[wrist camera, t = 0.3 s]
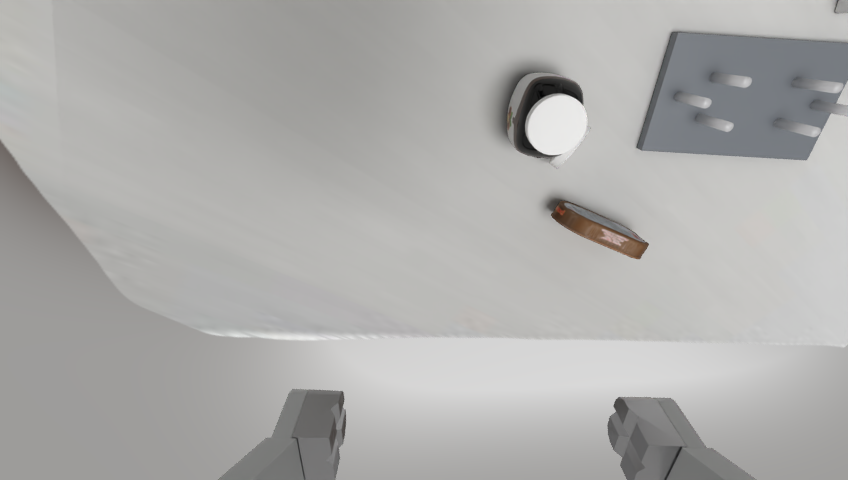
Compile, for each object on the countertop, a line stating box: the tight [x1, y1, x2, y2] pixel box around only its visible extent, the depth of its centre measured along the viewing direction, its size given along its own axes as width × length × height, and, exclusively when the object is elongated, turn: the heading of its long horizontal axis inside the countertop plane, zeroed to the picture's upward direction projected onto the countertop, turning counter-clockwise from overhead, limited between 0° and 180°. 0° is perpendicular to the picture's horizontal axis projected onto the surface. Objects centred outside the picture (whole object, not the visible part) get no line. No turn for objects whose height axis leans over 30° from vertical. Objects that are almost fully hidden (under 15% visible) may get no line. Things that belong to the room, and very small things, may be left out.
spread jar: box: [507, 72, 591, 169], centre depth 51 cm, size 12×11×12 cm
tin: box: [551, 201, 649, 259], centre depth 60 cm, size 15×3×8 cm, turn 67°
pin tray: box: [637, 32, 848, 160], centre depth 52 cm, size 15×24×8 cm, turn 87°
